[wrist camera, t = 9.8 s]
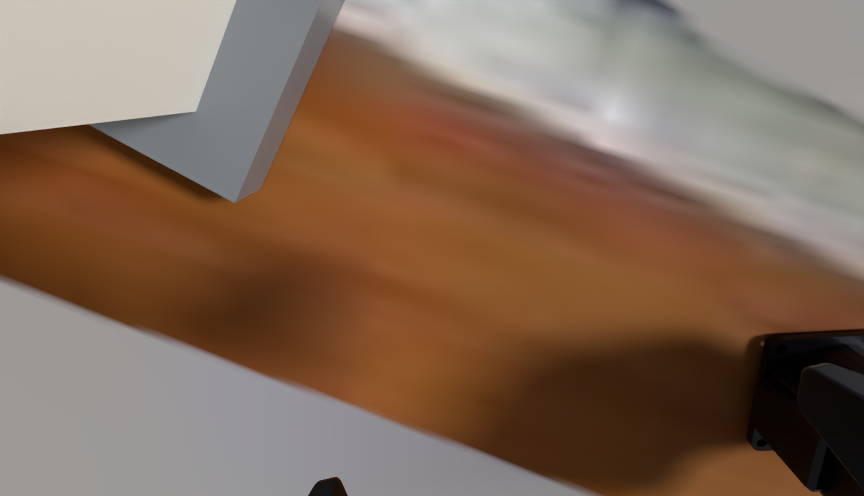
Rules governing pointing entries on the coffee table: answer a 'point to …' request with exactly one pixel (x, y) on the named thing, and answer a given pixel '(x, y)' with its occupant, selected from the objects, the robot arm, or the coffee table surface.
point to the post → (104, 59)
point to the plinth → (240, 98)
